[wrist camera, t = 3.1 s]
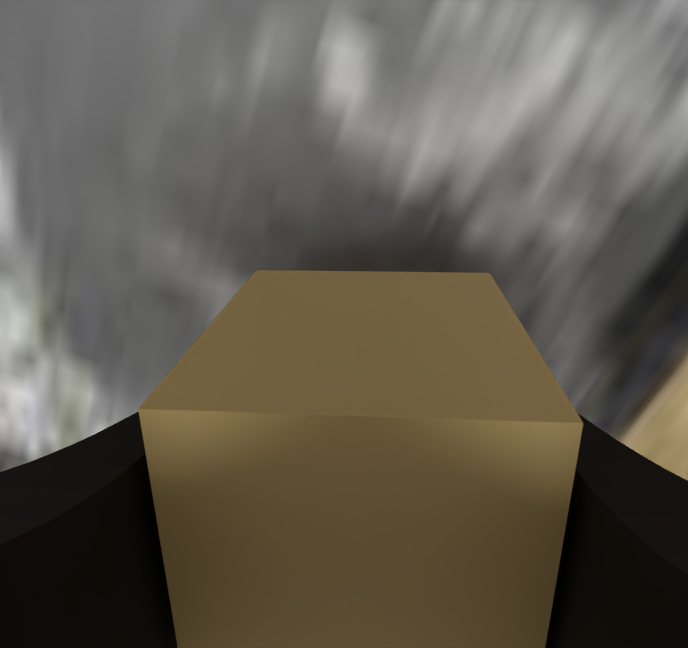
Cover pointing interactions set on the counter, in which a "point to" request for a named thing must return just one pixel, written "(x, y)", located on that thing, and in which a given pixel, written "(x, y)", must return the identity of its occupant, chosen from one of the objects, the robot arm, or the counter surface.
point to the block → (362, 467)
